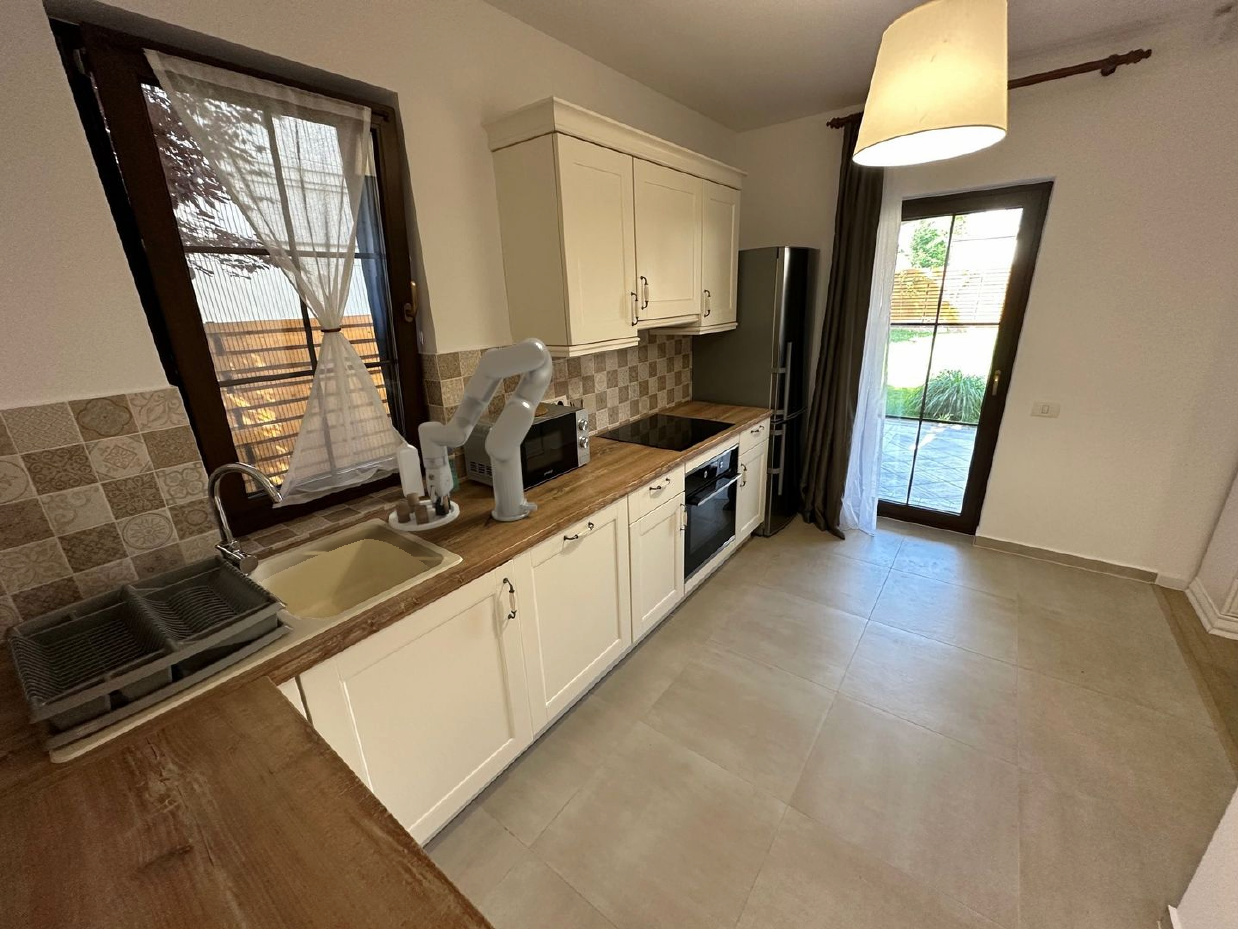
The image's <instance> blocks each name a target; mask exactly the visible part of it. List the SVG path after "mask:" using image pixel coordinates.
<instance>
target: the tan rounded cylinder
mask: <svg viewBox="0 0 1238 929" xmlns="http://www.w3.org/2000/svg"><path fill="white" fill-rule="evenodd" d="M436 499H439V500H440V498H436ZM443 504H445V510H446V515H448V514H449V513H450V512H449V505H448V498H447V495H445V496H444V497H443Z"/></svg>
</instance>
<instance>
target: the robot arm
mask: <svg viewBox="0 0 1238 929" xmlns="http://www.w3.org/2000/svg"><path fill="white" fill-rule="evenodd" d="M553 369H554V368H553V359H552V356H551V353H550V351H549V349H548V348H547V346H546V345H545V343H544V342H543V341H542V340H540V339H539V338H536V337H528V338H526V339H524V340H523V341H522V342H519V343H516V344H512V345H509V346H508V345H507V346H506V347H503V348H496V347H495V348H494V347H492V348H489V349H487V350H486V351H485V352H483V354H482V355H481V356H480V358H479V360H478V364H477V366H476V368H475V369H474V371H473V374H472V375H471V376H470V378H469V381H468V382H467V384H466V386H465V388H464V390H463V395H462V398H461V401H460V403H459V405H458V407H457V409H456V411H455V412H454V414H453V415H452V418H451V419H450V421H449V422H448V423H446V424H443V423H442V422H440V421H427V422H423V423H421V424H419V426H418V428H417V430H418V437H419V443H420V448H421V453H422V454H421V455H422V461H423V466H424V467H423V468H425V480H426V489H427V493H428V497H430V499H429V500H430V501H431V502H433V503H434V506H435V512H436V515H437V516H445V515H446V510H445V504H443V497H444V496H445V495H447V498H448V505H449V510H451V504H450V501H451V499H450V497H451V495H450V494H451V493H449V491H450V490H451V489H452V488H453V479H452V474H451V469H450V466H449V461H448V454H447V447H446V446H449V447H453V448H457V447H461V446H463V445H464V444H465V443H466V442H467V441H468V439H469V437H470V435H471V434H472V432H473V430H474V427H475V426H476V425H477V422H478V420H479V419H480V417H481V415H482V414H483V412H484V411H485V409H486V408H487V407H488V406H489V404H490V403H491V401H492V400H493V398H494V396H495V394H496V392H497V391H498V389H499V387H500V386H501V383H502V381H503V380H504V379H506V378H511V377H514V376H518V375H522V374H523V375H522V376H521V378H520V379H519V382H518V384H517V386H516V387H515V390H514V391H513V393H512V394H511V396H510V397H509V399H508V400H507V401H506V402H505V404H504V407H503V408H502V410H501V413H500V415H499V416H498V418H497V420H496V421H495V424H494V425H493V426H492V427H491V428H490V429H489V432H488V434H487V435H486V436H487V437H486V439H485V441H484V442H485V443H484V449H485V451H486V453H487V455H488V456H489V457H490V465H491V477H492V484H493V494H494V502H495V503H494V505H495V508H494V509H492V510H491V517H492V518H493V519H495V520H497V521H501V522H512V521H513V522H514V521H518V520H521V519H523V518H525V517H527V516H528V515H529V514H530V511H537V510H538V505H537V504H536V503H535V502H528V501H527V497H525V496H524V495H525V494H524V484H523V474H522V462H521V444H522V443H523V441H524V439H525V438H526V435H527V434H528V432H529V430H530V428H532V424H533V423H534V419H535V415H536V410H537V408H538V406H539V405H540V403H541V401H542V398H543V397H544V395H545V393H546V391H547V390H548V388H549V385H550V383H551V380H552V377H553ZM436 494H438V495H436ZM436 498H440V500H439V499H436Z"/></svg>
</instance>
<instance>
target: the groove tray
mask: <svg viewBox="0 0 1238 929" xmlns="http://www.w3.org/2000/svg"><path fill="white" fill-rule="evenodd" d="M419 502H420V505H426V506H427V511H428V517H429V523H428V524H421V525H417V523H416V517H415V512H414V513H410V518H411V520H410V521H409V522H407V523H399V522H398V518H397V512H396V509H395V510H394V511H393V512H392V513H390V514H389V518H388V524H389V526H391V528H393V529H395V530H398V531H405V532H418V531H426V530H431V529H435V528H438V527H441V526H444V525H446V524H448V523H450V522H452V521H454V520H455V519H456V518H458V516H459V514H460V508H459V504H457V503H456V502H454V501H451V500H450V504H451V510H449V512H450V513H449V514H448V515H445V516H437V515H436V512H435V509H434V508H432V502H431V501H430V499H427V500H425V499H424V500H419Z"/></svg>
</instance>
